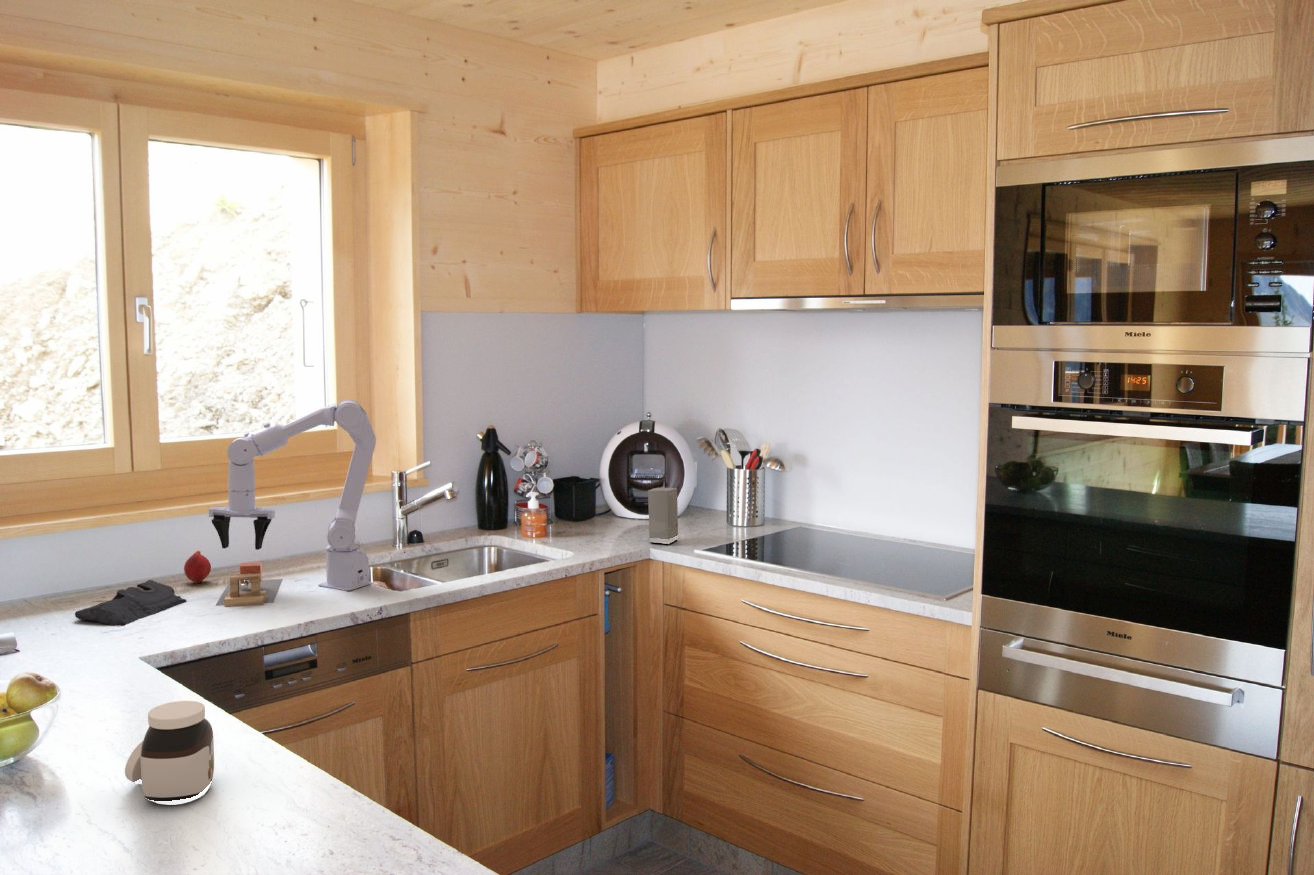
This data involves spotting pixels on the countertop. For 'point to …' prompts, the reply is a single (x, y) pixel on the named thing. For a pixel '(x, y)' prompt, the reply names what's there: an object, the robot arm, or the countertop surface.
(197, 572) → the onion
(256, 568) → the copper cube mallet
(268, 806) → the countertop surface
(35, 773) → the countertop surface
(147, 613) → the black folded cloth
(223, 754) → the countertop surface
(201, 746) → the spread jar
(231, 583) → the wooden arch frame
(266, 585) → the gray panel
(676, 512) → the skincare box
